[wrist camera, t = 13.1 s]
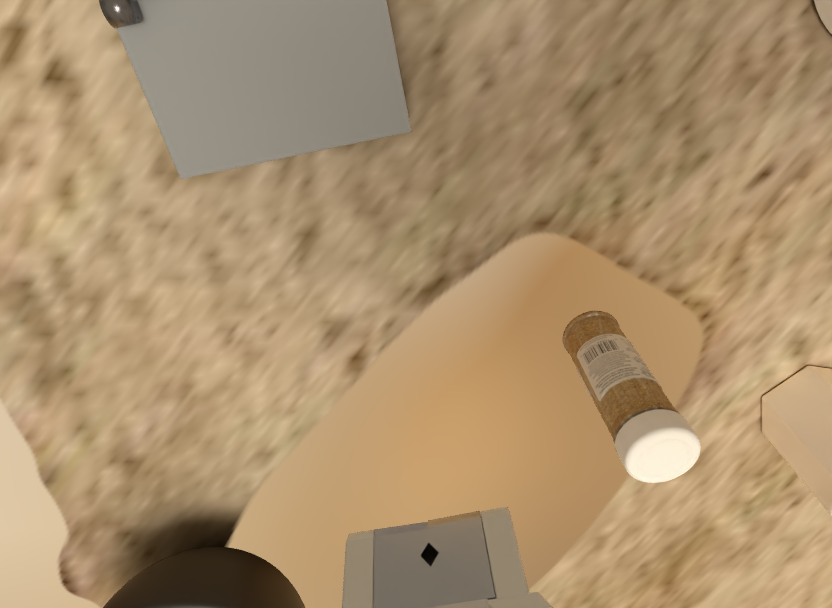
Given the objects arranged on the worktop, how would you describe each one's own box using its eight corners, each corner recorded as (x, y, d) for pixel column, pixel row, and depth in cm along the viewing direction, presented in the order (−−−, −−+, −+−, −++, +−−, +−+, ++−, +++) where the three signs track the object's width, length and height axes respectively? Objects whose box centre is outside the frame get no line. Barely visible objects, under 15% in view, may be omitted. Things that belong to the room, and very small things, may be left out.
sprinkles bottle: (565, 361, 45) (628, 493, 34) (557, 316, 43) (622, 441, 31) (620, 347, 45) (704, 476, 33) (616, 301, 42) (703, 422, 31)
